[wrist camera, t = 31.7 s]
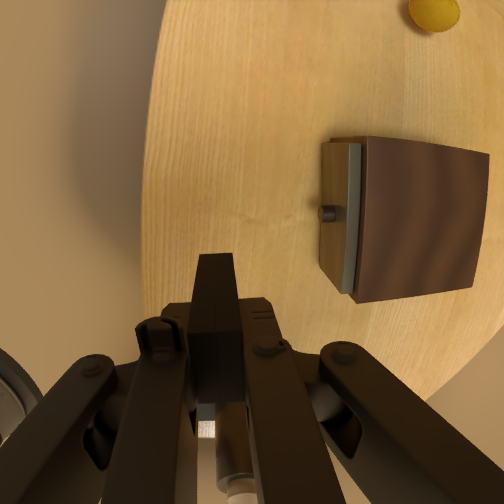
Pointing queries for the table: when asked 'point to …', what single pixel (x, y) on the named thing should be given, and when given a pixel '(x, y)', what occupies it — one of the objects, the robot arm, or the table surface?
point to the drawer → (340, 212)
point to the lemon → (434, 14)
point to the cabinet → (418, 218)
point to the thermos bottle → (234, 454)
